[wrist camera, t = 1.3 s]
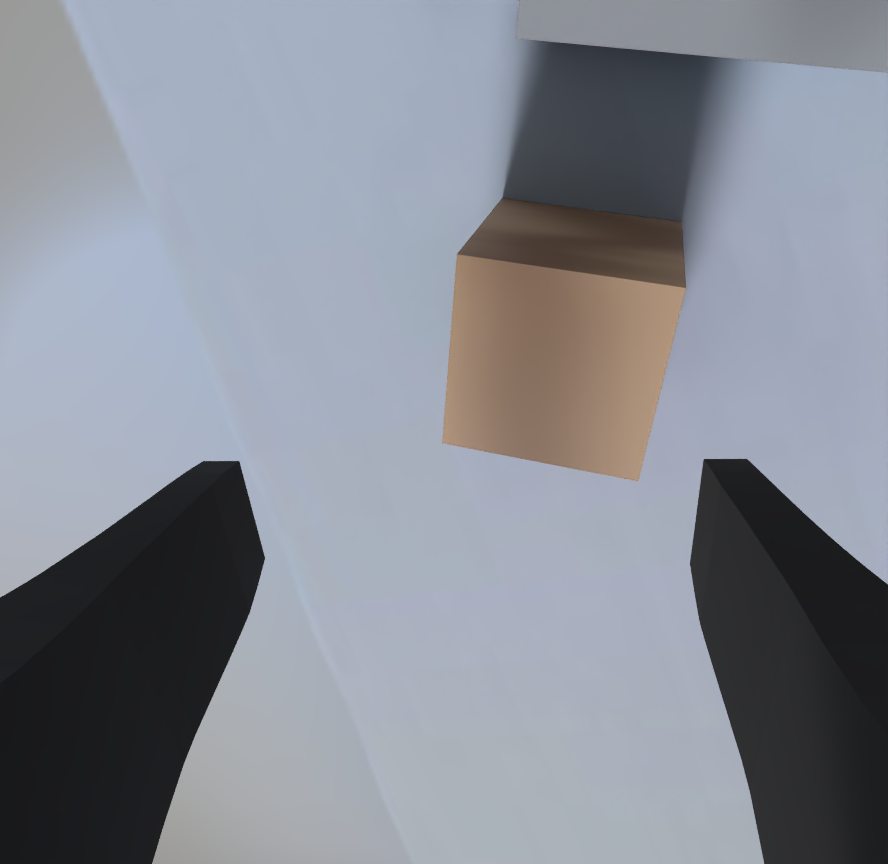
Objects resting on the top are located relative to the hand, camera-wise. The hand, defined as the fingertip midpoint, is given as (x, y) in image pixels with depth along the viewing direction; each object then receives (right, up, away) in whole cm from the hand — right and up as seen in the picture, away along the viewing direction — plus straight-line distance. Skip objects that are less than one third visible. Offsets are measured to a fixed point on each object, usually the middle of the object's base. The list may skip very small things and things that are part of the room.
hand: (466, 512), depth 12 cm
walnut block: (+3, +5, +8) cm, 10 cm away
